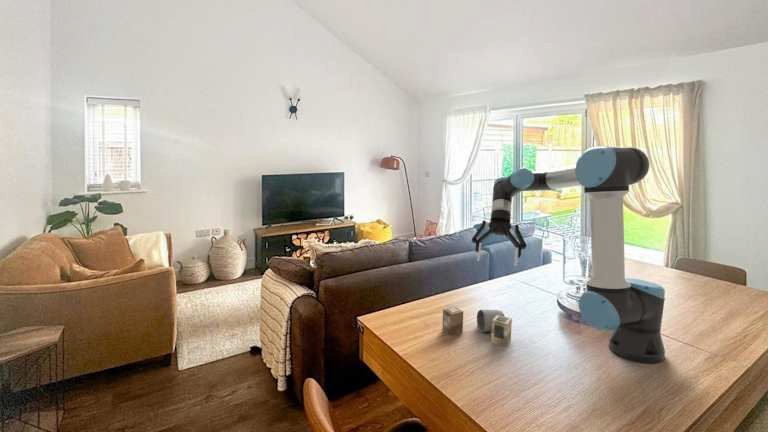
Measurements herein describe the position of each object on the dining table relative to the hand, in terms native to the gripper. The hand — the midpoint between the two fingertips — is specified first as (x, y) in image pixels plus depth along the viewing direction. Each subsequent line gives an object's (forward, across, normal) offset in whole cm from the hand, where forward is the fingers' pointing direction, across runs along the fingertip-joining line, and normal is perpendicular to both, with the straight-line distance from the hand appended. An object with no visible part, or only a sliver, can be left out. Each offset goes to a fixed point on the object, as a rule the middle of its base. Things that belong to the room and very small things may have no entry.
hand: (497, 262), depth 149 cm
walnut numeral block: (+28, +13, -2) cm, 31 cm away
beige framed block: (+29, -3, +2) cm, 30 cm away
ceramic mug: (+24, +1, -6) cm, 25 cm away
